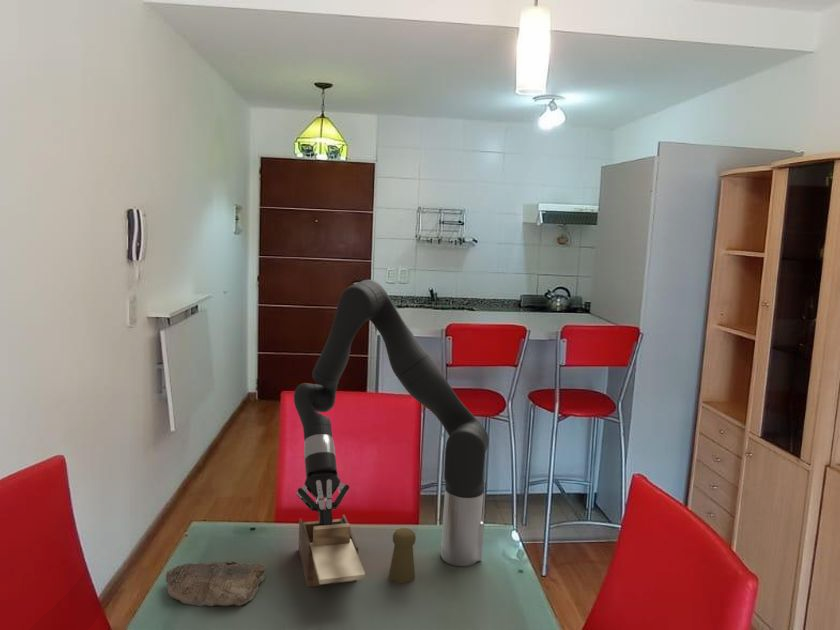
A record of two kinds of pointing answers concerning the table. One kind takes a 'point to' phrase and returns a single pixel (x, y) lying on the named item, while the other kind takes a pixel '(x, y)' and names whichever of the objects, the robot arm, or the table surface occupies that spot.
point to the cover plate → (335, 554)
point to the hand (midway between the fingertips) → (326, 527)
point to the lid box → (305, 552)
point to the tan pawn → (403, 556)
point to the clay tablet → (215, 583)
